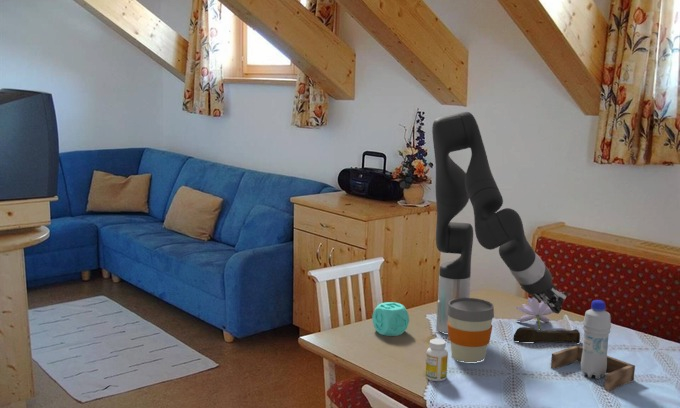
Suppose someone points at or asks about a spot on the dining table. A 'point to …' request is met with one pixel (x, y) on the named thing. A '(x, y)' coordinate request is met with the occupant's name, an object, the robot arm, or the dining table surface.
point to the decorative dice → (390, 319)
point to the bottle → (595, 340)
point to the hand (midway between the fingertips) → (557, 310)
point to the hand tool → (546, 335)
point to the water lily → (535, 311)
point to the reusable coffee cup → (469, 328)
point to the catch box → (616, 369)
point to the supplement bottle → (436, 360)
